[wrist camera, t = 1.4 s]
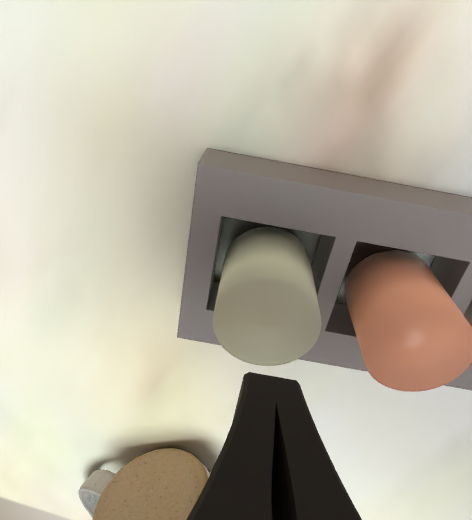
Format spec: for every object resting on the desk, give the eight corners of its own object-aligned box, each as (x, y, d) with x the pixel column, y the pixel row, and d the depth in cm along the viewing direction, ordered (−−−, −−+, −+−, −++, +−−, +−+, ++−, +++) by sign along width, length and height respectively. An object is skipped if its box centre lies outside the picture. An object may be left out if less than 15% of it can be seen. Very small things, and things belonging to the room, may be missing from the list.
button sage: (320, 235, 16) (335, 289, 12) (298, 307, 17) (306, 373, 14) (231, 219, 16) (221, 269, 12) (218, 293, 17) (206, 355, 14)
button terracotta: (447, 259, 16) (498, 319, 12) (413, 328, 18) (448, 399, 14) (359, 243, 16) (385, 299, 12) (333, 314, 18) (349, 381, 14)
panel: (612, 224, 16) (663, 250, 14) (514, 365, 20) (543, 402, 18) (207, 148, 16) (198, 163, 14) (186, 306, 20) (176, 337, 18)
